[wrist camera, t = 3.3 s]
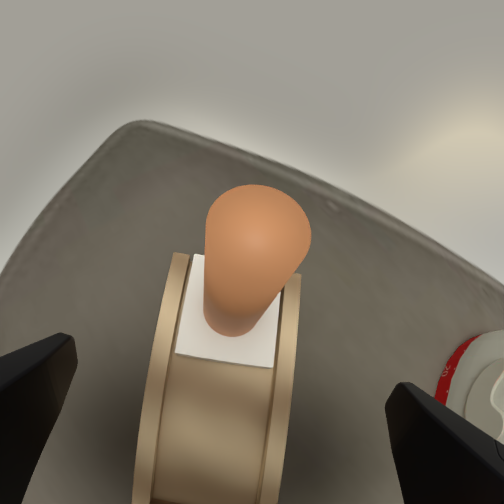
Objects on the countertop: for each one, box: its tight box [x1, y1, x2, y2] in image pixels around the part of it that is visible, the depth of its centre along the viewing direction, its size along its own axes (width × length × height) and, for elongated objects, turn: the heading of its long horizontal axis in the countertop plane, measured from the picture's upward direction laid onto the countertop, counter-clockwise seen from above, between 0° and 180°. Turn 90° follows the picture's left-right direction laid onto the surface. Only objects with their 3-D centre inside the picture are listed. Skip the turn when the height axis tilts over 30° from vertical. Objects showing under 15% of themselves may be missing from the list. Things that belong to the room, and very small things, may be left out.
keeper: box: [175, 185, 311, 369], centre depth 14 cm, size 6×5×10 cm
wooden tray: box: [132, 252, 301, 504], centre depth 15 cm, size 17×8×3 cm, turn 173°
